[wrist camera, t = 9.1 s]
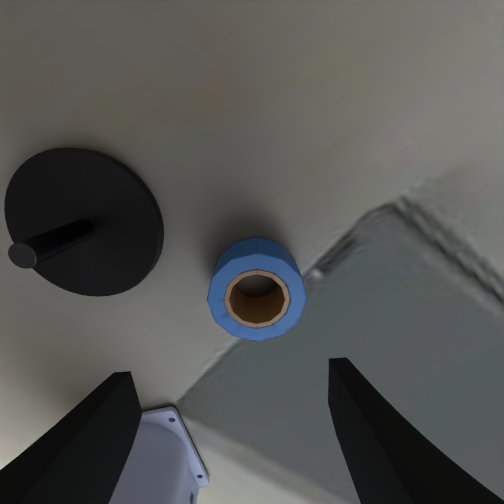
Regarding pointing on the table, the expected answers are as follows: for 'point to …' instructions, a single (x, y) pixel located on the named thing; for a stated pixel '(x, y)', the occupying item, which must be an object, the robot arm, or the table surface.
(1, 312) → the table surface
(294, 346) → the table surface
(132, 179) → the spindle stand
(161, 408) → the robot arm
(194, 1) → the table surface
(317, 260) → the table surface
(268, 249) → the tape roll
